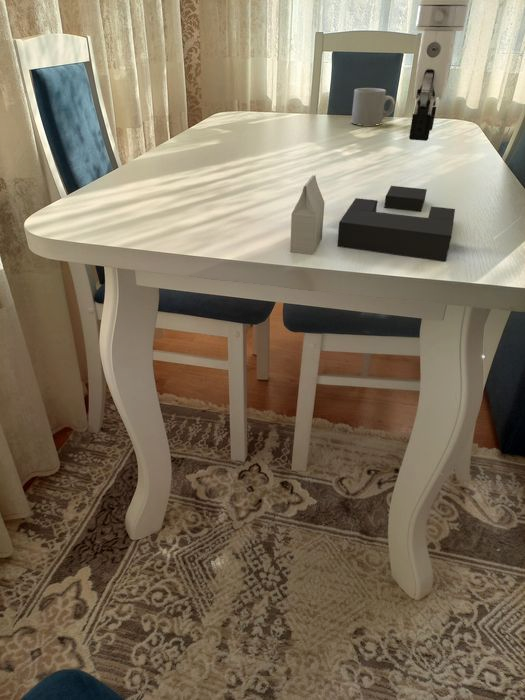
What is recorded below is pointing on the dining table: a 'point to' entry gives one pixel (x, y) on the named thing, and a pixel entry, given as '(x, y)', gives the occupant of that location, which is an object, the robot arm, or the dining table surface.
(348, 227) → the big black notched block
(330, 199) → the dining table surface
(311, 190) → the grey milk carton
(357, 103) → the coffee mug
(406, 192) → the small pad
